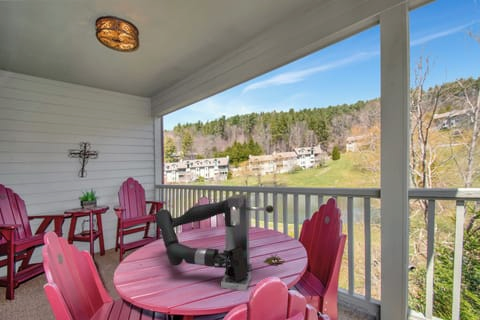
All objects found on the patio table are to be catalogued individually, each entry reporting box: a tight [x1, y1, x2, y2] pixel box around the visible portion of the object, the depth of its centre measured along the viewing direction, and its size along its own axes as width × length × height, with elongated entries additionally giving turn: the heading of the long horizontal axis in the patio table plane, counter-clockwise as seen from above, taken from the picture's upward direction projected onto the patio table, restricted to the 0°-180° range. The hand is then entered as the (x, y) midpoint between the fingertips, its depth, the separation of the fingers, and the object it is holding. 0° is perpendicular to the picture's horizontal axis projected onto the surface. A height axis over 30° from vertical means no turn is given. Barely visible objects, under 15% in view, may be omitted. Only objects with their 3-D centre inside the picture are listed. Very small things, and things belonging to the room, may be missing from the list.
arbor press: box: [220, 194, 275, 292], centre depth 102 cm, size 20×22×38 cm
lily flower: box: [263, 253, 284, 267], centre depth 120 cm, size 12×12×5 cm
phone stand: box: [224, 247, 248, 281], centre depth 99 cm, size 9×6×12 cm, turn 44°
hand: (241, 260), depth 98 cm, fingers closed on phone stand, 6 cm apart
